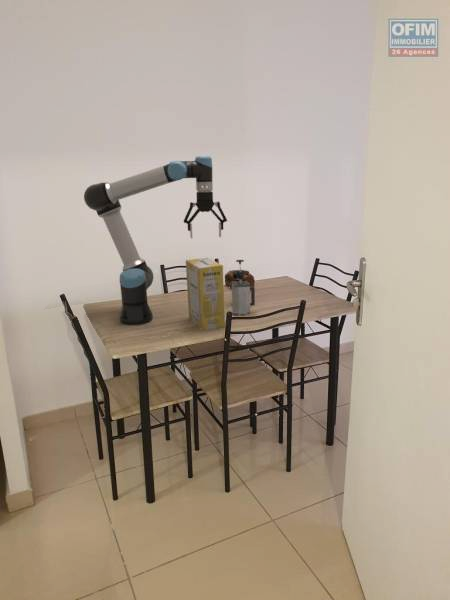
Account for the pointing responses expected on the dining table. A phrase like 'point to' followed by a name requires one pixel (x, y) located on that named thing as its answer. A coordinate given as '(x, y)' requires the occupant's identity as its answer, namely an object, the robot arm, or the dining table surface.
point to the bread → (229, 279)
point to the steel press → (242, 298)
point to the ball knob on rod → (240, 275)
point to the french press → (237, 270)
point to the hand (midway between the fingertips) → (205, 237)
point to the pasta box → (205, 293)
